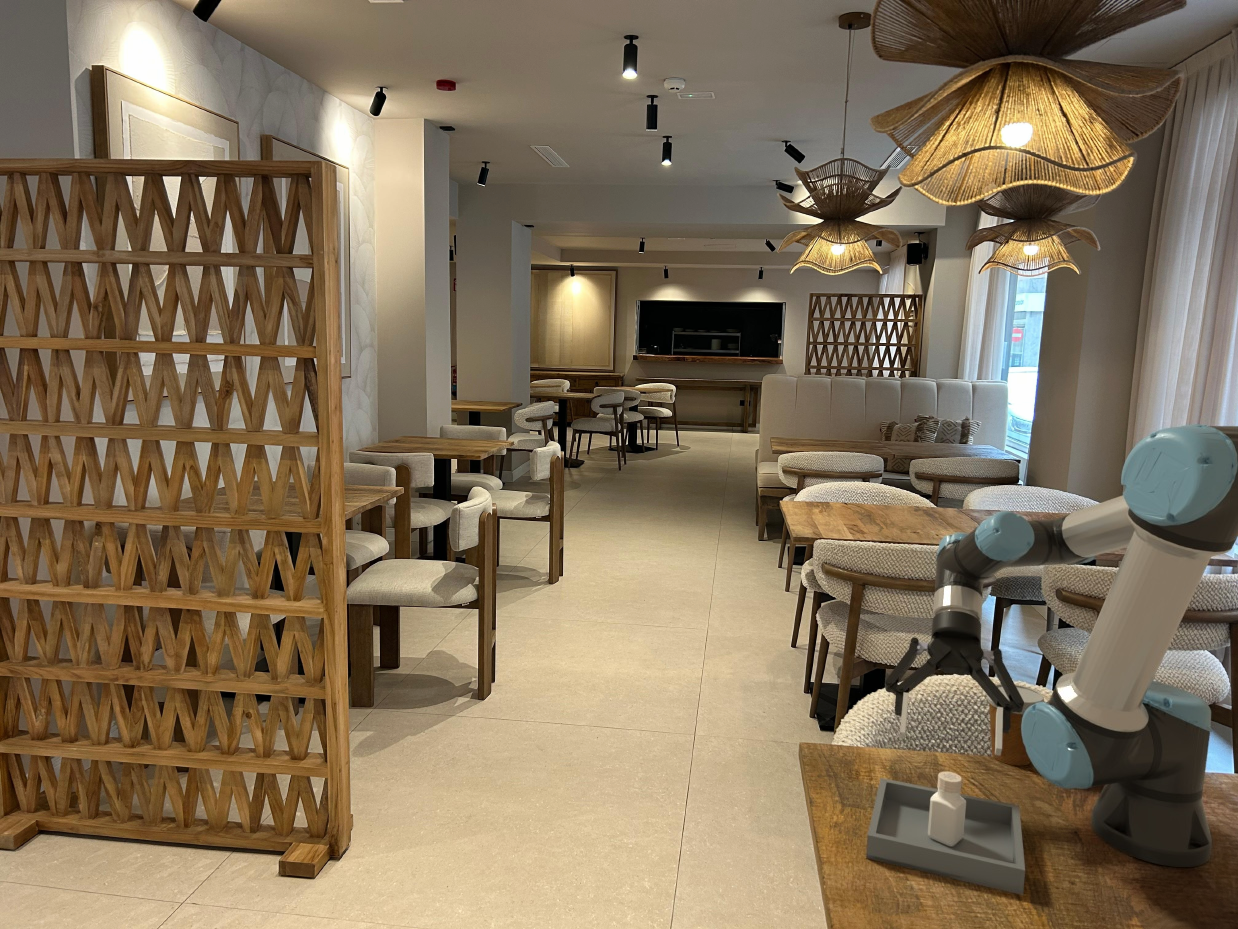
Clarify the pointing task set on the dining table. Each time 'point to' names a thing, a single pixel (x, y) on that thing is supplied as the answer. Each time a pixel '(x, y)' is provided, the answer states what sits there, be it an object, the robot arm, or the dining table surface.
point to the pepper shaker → (947, 810)
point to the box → (976, 858)
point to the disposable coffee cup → (1013, 728)
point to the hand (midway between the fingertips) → (949, 744)
